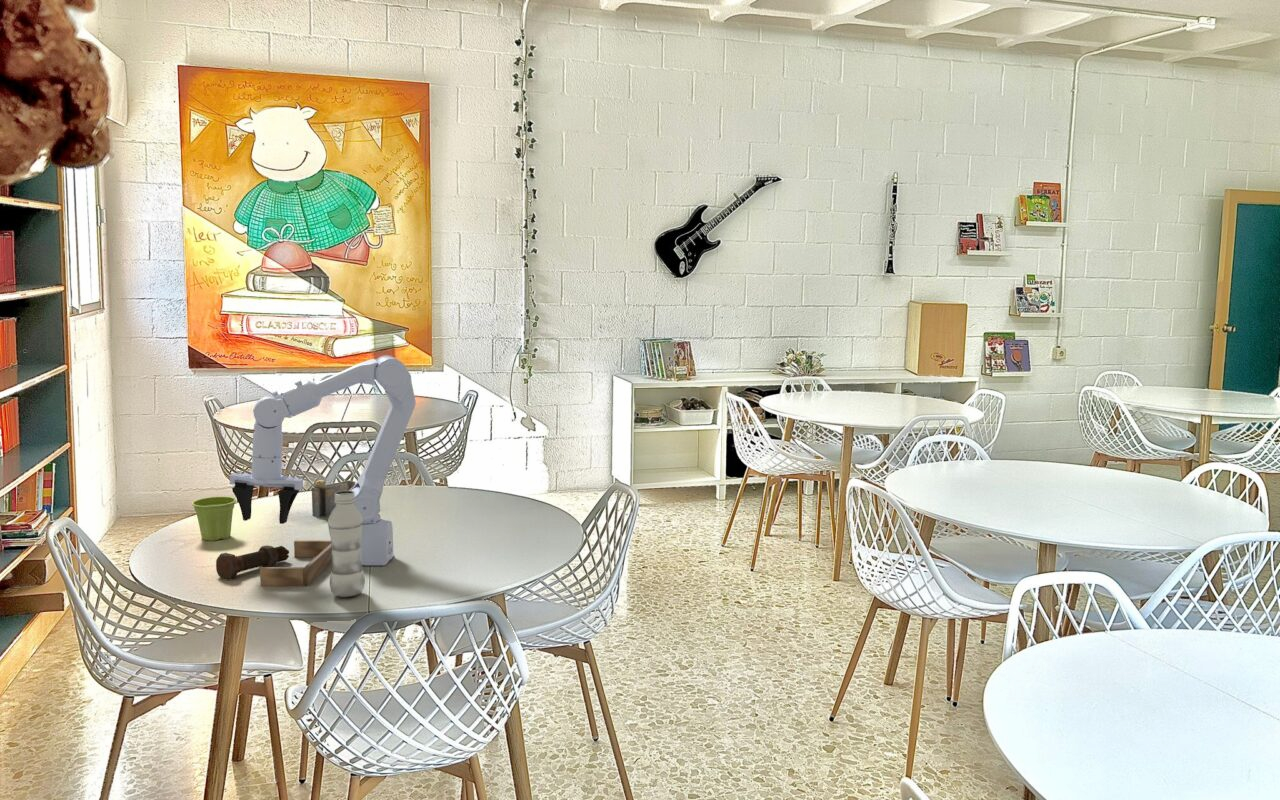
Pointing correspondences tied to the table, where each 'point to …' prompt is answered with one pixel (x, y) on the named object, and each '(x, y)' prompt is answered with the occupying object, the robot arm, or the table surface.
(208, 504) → the plant pot
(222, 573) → the bolt
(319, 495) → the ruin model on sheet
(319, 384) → the robot arm
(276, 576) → the frame
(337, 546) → the plastic bottle
